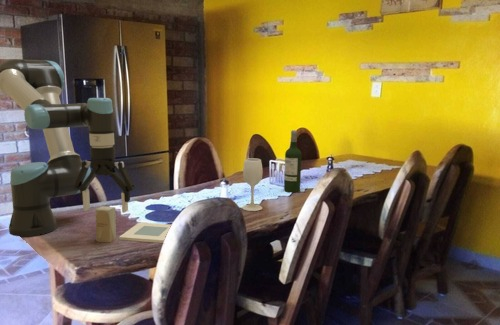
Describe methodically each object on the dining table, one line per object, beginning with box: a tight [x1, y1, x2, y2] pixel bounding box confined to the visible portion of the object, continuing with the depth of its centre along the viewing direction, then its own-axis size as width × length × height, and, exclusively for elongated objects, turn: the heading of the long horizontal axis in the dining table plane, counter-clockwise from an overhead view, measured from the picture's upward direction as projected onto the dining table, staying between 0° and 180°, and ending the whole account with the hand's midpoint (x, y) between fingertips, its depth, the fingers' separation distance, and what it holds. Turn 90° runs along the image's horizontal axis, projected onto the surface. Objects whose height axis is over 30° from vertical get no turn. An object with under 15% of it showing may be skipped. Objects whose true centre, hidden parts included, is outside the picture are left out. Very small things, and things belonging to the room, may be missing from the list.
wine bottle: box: [283, 130, 302, 194], centre depth 215 cm, size 8×8×30 cm
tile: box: [118, 222, 172, 244], centre depth 153 cm, size 16×16×1 cm
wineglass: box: [241, 157, 263, 212], centre depth 184 cm, size 9×9×21 cm
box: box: [95, 205, 117, 243], centre depth 145 cm, size 5×4×11 cm
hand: (105, 210), depth 144 cm, fingers open, 13 cm apart
